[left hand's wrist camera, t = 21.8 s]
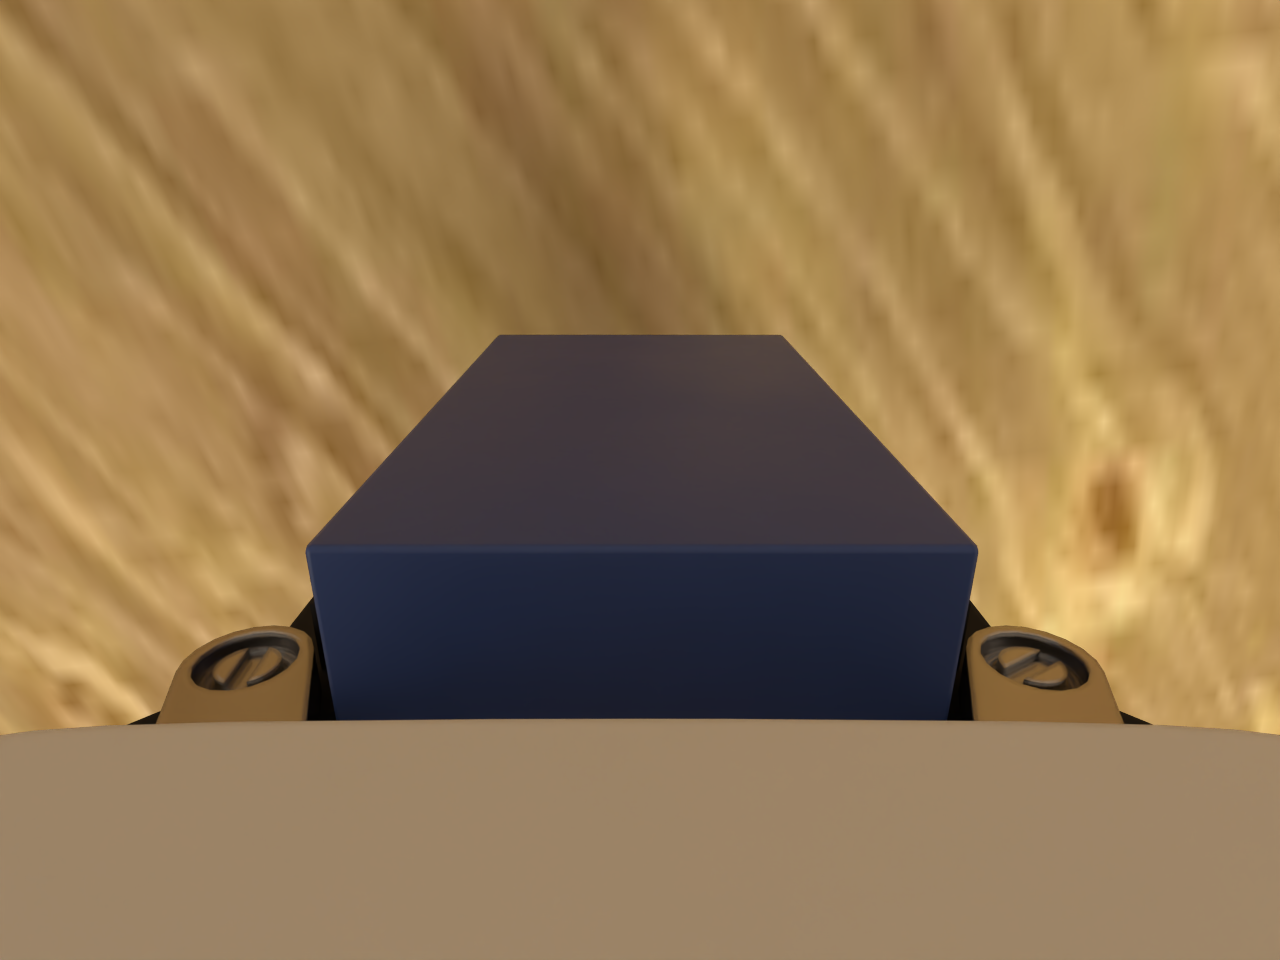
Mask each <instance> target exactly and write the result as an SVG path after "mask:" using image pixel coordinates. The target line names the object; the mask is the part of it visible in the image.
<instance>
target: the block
mask: <svg viewBox="0 0 1280 960" xmlns="http://www.w3.org/2000/svg"><path fill="white" fill-rule="evenodd" d="M977 557H978V548H977V545H976V544H975V543H974V542H973V541H972V540H971V539H970V538H969V537H968V536H967V535H966V533H965V532H964V531H963V530H962V529H961V528H960V527H959V526H958V525H957V524H956V523H955V522H954V521H953V519H952V518H951V517H950V516H949V515H948V514H947V513H946V512H945V511H944V510H943V509H942V508H941V506H940V505H939V504H938V503H937V502H936V501H935V500H934V499H933V498H932V497H931V496H930V495H929V494H928V492H927V491H926V490H925V489H924V488H923V487H922V486H921V485H920V484H919V483H918V482H917V481H916V480H915V478H914V477H913V476H912V475H911V474H910V473H909V472H908V471H907V470H906V469H905V468H904V467H903V465H902V464H901V463H900V462H899V461H898V460H897V459H896V458H895V457H894V456H893V455H892V454H891V453H890V451H889V450H888V449H887V448H886V447H885V446H884V445H883V444H882V443H881V442H880V441H879V440H878V439H877V437H876V436H875V435H874V434H873V433H872V432H871V431H870V430H869V429H868V428H867V427H866V426H865V425H864V423H863V422H862V421H861V420H860V419H859V418H858V417H857V416H856V415H855V414H854V413H853V412H852V410H851V409H850V408H849V407H848V406H847V405H846V404H845V403H844V402H843V401H842V400H841V399H840V398H839V396H838V395H837V394H836V393H835V392H834V391H833V390H832V389H831V388H830V387H829V386H828V385H827V384H826V382H825V381H824V380H823V379H822V378H821V377H820V376H819V375H818V374H817V373H816V372H815V371H814V369H813V368H812V367H811V366H810V365H809V364H808V363H807V362H806V361H805V360H804V359H803V358H802V357H801V355H800V354H799V353H798V352H797V351H796V350H795V349H794V348H793V347H792V346H791V345H790V344H789V343H788V341H787V340H786V339H785V338H784V337H783V336H781V335H499V336H498V337H497V338H496V339H495V340H494V341H493V342H492V343H491V344H490V345H489V346H488V348H487V349H486V350H485V351H484V352H483V353H482V354H481V355H480V356H479V357H478V359H477V360H476V361H475V362H474V363H473V364H472V365H471V366H470V367H469V368H468V370H467V371H466V372H465V373H464V374H463V375H462V376H461V377H460V378H459V379H458V380H457V382H456V383H455V384H454V385H453V386H452V387H451V388H450V389H449V390H448V391H447V393H446V394H445V395H444V396H443V397H442V398H441V399H440V400H439V401H438V402H437V404H436V405H435V406H434V407H433V408H432V409H431V410H430V411H429V412H428V413H427V415H426V416H425V417H424V418H423V419H422V420H421V421H420V422H419V423H418V424H417V426H416V427H415V428H414V429H413V430H412V431H411V432H410V433H409V434H408V435H407V436H406V438H405V439H404V440H403V441H402V442H401V443H400V444H399V445H398V446H397V447H396V449H395V450H394V451H393V452H392V453H391V454H390V455H389V456H388V457H387V458H386V460H385V461H384V462H383V463H382V464H381V465H380V466H379V467H378V468H377V469H376V471H375V472H374V473H373V474H372V475H371V476H370V477H369V478H368V479H367V480H366V482H365V483H364V484H363V485H362V486H361V487H360V488H359V489H358V490H357V491H356V492H355V494H354V495H353V496H352V497H351V498H350V499H349V500H348V501H347V502H346V503H345V505H344V506H343V507H342V508H341V509H340V510H339V511H338V512H337V513H336V514H335V516H334V517H333V518H332V519H331V520H330V521H329V522H328V523H327V524H326V525H325V527H324V528H323V529H322V530H321V531H320V532H319V533H318V534H317V535H316V536H315V538H314V539H313V540H312V541H311V542H310V543H309V544H308V545H307V548H306V558H307V563H308V569H309V574H310V580H311V585H312V591H313V596H314V602H315V607H316V613H317V618H318V623H319V629H320V634H321V640H322V645H323V651H324V656H325V662H326V667H327V673H328V678H329V684H330V689H331V695H332V700H333V706H334V711H335V716H336V721H362V720H455V719H800V720H918V721H947V718H948V713H949V707H950V702H951V697H952V691H953V686H954V680H955V675H956V670H957V664H958V659H959V654H960V648H961V643H962V637H963V632H964V627H965V621H966V616H967V611H968V605H969V600H970V595H971V589H972V584H973V578H974V573H975V568H976V562H977Z"/></svg>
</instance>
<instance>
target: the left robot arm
mask: <svg viewBox="0 0 1280 960" xmlns="http://www.w3.org/2000/svg"><path fill="white" fill-rule="evenodd" d="M0 960H1280V735H1275V734H1267V733H1258V732H1250V731H1241V730H1232V729H1216V728H1199V727H1183V726H1167V725H1153V724H1150V723H1148V722H1145V721H1143V720H1140V719H1138V718H1135V717H1133V716H1131V715H1128V714H1126V713H1123V712H1121V711H1119V709H1118V706H1117V704H1116V701H1115V699H1114V696H1113V693H1112V691H1111V688H1110V686H1109V683H1108V680H1107V678H1106V675H1105V673H1104V671H1103V669H1102V668H1101V666H1100V665H1099V663H1098V662H1097V660H1096V659H1094V658H1093V657H1092V656H1091V655H1090V654H1088V653H1087V652H1086V651H1085V650H1084V649H1082V648H1080V647H1078V646H1077V645H1075V644H1073V643H1071V642H1069V641H1068V640H1066V639H1063V638H1061V637H1058V636H1055V635H1053V634H1050V633H1047V632H1044V631H1040V630H1035V629H1031V628H1027V627H1017V626H994V627H991V626H990V625H989V624H988V623H987V621H986V620H985V619H984V617H983V616H982V615H981V614H980V612H979V611H978V610H977V609H976V607H975V606H974V605H973V603H972V602H971V601H970V600H969V605H968V611H967V616H966V621H965V627H964V632H963V637H962V643H961V648H960V654H959V659H958V664H957V670H956V675H955V680H954V686H953V691H952V697H951V702H950V707H949V713H948V718H947V721H918V720H800V719H455V720H362V721H336V716H335V711H334V706H333V700H332V695H331V689H330V684H329V678H328V673H327V667H326V662H325V656H324V651H323V645H322V640H321V634H320V629H319V623H318V618H317V613H316V607H315V602H314V596H313V598H312V599H311V600H310V602H309V603H308V604H307V605H306V607H305V608H304V609H303V610H302V612H301V613H300V614H299V616H298V617H297V618H296V619H295V621H294V622H293V623H292V624H291V626H290V627H286V626H263V627H253V628H249V629H245V630H240V631H236V632H233V633H230V634H227V635H225V636H222V637H219V638H217V639H214V640H212V641H211V642H209V643H207V644H205V645H203V646H202V647H200V648H198V649H196V650H195V651H194V652H193V653H192V654H190V655H189V656H188V657H187V658H186V659H184V660H183V662H182V663H181V665H180V666H179V668H178V669H177V671H176V673H175V675H174V678H173V680H172V683H171V686H170V688H169V691H168V693H167V696H166V699H165V701H164V704H163V706H162V709H161V711H160V712H157V713H155V714H152V715H150V716H147V717H145V718H142V719H140V720H138V721H135V722H133V723H130V724H128V725H113V726H94V727H80V728H66V729H52V730H37V731H29V732H21V733H13V734H6V735H0Z"/></svg>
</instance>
